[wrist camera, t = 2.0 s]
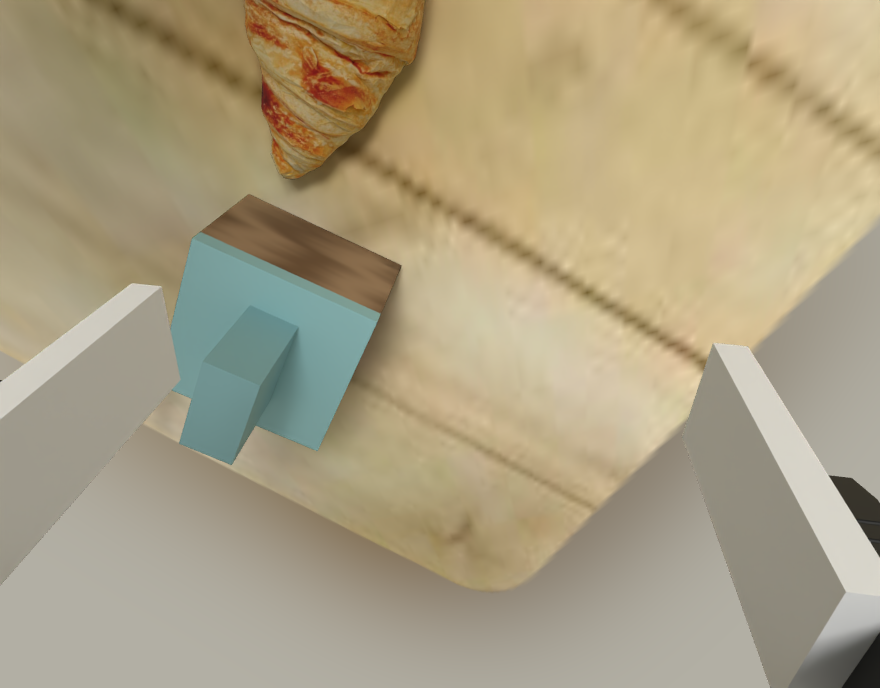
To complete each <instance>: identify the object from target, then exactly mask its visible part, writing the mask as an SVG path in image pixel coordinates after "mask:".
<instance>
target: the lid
mask: <svg viewBox="0 0 880 688" xmlns="http://www.w3.org/2000/svg"><path fill="white" fill-rule="evenodd" d="M380 315H381V314H380V313H378V312H376V311H374V310H371V309H369V308H367V307H365V306H363V305H360V304H358V303H356V302H354V301H352V300H349V299H347V298H345V297H343V296H341V295H338V294H336V293H334V292H332V291H330V290H327V289H325V288H323V287H321V286H319V285H316V284H314V283H312V282H310V281H308V280H305V279H303V278H301V277H299V276H297V275H294V274H292V273H290V272H288V271H286V270H283V269H281V268H279V267H277V266H275V265H272V264H270V263H268V262H266V261H264V260H261V259H259V258H257V257H255V256H253V255H250V254H248V253H246V252H244V251H242V250H239V249H237V248H235V247H233V246H231V245H228V244H226V243H224V242H222V241H220V240H217V239H215V238H213V237H211V236H209V235H206V234H204V233H202V232H200V233H198V234H197V235H196V236H194V237H193V238H192V241H191V245H190V249H189V253H188V257H187V262H186V266H185V270H184V274H183V278H182V282H181V287H180V291H179V295H178V299H177V303H176V307H175V312H174V316H173V320H172V324H171V328H170V330H171V335H172V340H173V345H174V350H175V355H176V360H177V365H178V370H179V375H180V379H181V380H180V381H179V382H178V383H177V384H176V386H175V387H174V388H173V389H172V391H175V392H177V393H179V394H182V395H184V396H187V397H189V398H191V399H192V400H191V404H190V407H189V411H188V414H187V418H186V421H185V425H184V428H183V432H182V435H181V439H180V442H179V444H181V445H184V446H186V447H189V448H191V449H194V450H196V451H198V452H201V453H203V454H206V455H208V456H211V457H213V458H216V459H218V460H220V461H223V462H225V463H228V464H230V465H232V464H233V462H234V460H235V459H236V457H237V455H238V454H239V452H240V450H241V449H242V447H243V445H244V444H245V442H246V440H247V439H248V437H249V435H250V434H251V432H252V430H253V429H254V427H255V425H256V426H258V427H261V428H263V429H266V430H268V431H270V432H273V433H275V434H278V435H280V436H282V437H285V438H287V439H289V440H292V441H294V442H297V443H299V444H301V445H304V446H306V447H309V448H311V449H313V450H316V451H318V449H319V447H320V445H321V442H322V440H323V438H324V436H325V434H326V432H327V430H328V427H329V425H330V423H331V421H332V419H333V417H334V414H335V412H336V410H337V408H338V406H339V404H340V401H341V399H342V397H343V395H344V393H345V391H346V389H347V386H348V384H349V382H350V380H351V378H352V376H353V373H354V371H355V369H356V367H357V365H358V363H359V361H360V358H361V356H362V354H363V352H364V350H365V348H366V345H367V343H368V341H369V339H370V337H371V335H372V332H373V330H374V328H375V326H376V324H377V322H378V319H379V317H380Z"/></svg>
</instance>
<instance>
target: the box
mask: <svg viewBox="0 0 880 688" xmlns="http://www.w3.org/2000/svg"><path fill="white" fill-rule="evenodd" d="M201 232H202V233H204V234H206V235H209V236H211V237H213V238H215V239H217V240H220V241H222V242H224V243H226V244H228V245H231V246H233V247H235V248H237V249H239V250H242V251H244V252H246V253H248V254H250V255H253V256H255V257H257V258H259V259H261V260H264V261H266V262H268V263H270V264H272V265H275V266H277V267H279V268H281V269H283V270H286V271H288V272H290V273H292V274H294V275H297V276H299V277H301V278H303V279H305V280H308V281H310V282H312V283H314V284H316V285H319V286H321V287H323V288H325V289H327V290H330V291H332V292H334V293H336V294H338V295H341V296H343V297H345V298H347V299H349V300H352V301H354V302H356V303H358V304H360V305H363V306H365V307H367V308H369V309H371V310H374V311H376V312H378V313H380V314H381V312H382V310H383V308H384V305H385V303H386V301H387V298H388V296H389V294H390V291H391V289H392V287H393V284H394V282H395V280H396V277H397V275H398V272H399V270H400V268H401V265H399V264H397V263H395V262H393V261H391V260H389V259H387V258H384V257H382V256H380V255H378V254H376V253H374V252H372V251H369V250H367V249H365V248H363V247H361V246H359V245H357V244H354V243H352V242H350V241H348V240H346V239H344V238H342V237H339V236H337V235H335V234H333V233H331V232H329V231H327V230H324V229H322V228H320V227H318V226H316V225H314V224H312V223H309V222H307V221H305V220H303V219H301V218H299V217H297V216H294V215H292V214H290V213H288V212H286V211H284V210H282V209H279V208H277V207H275V206H273V205H271V204H269V203H267V202H264V201H262V200H260V199H258V198H256V197H254V196H252V195H250V194H248V195H247V196H246V197H245V198H243V199H242V200H241V201H239V202H238V203H237V204H236V205H234V206H233V207H232V208H230V209H229V210H228V211H227V212H225V213H224V214H223V215H221V216H220V217H219V218H218V219H216V220H215V221H214V222H212V223H211V224H210V225H209V226H207V227H206V228H205V229H203V230H202V231H201Z"/></svg>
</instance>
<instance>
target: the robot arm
mask: <svg viewBox="0 0 880 688" xmlns="http://www.w3.org/2000/svg"><path fill="white" fill-rule="evenodd" d="M180 380H181V379H180V375H179V370H178V365H177V360H176V355H175V350H174V345H173V340H172V335H171V330H170V325H169V320H168V315H167V310H166V305H165V300H164V296H163V291H162V286H154V285H144V284H134V283H131V284H130V285H129V286H127V287H126V288H125V289H123V290H122V291H121V292H119V293H118V294H117V295H115V296H114V297H113V298H111V299H110V300H109V301H108V302H106V303H105V304H104V305H102V306H101V307H100V308H98V309H97V310H96V311H94V312H93V313H92V314H90V315H89V316H88V317H86V318H85V319H84V320H82V321H81V322H80V323H78V324H77V325H76V326H74V327H73V328H72V329H70V330H69V331H68V332H66V333H65V334H64V335H62V336H61V337H60V338H58V339H57V340H56V341H54V342H53V343H52V344H50V345H49V346H48V347H47V348H45V349H44V350H43V351H41V352H40V353H39V354H37V355H36V356H35V357H33V358H32V359H31V360H29V361H28V362H27V363H25V364H24V365H23V366H21V367H20V368H19V369H17V370H16V371H15V372H13V373H12V374H11V375H9V376H8V377H7V378H5V379H4V380H0V585H1V584H2V583H3V582H4V581H5V580H6V579H7V577H8V576H9V575H10V574H11V573H12V572H13V571H14V569H15V568H16V567H17V566H18V565H19V563H21V561H22V560H23V559H24V558H25V557H26V556H27V555H28V553H29V552H30V551H31V550H32V549H33V548H34V547H35V545H36V544H37V543H38V542H39V541H40V540H41V538H43V536H44V535H45V534H46V533H47V532H48V530H50V528H51V527H52V526H53V525H54V524H55V522H56V521H57V520H58V519H59V518H60V517H61V516H62V514H63V513H64V512H65V511H66V510H67V509H68V508H69V507H70V506H71V504H72V503H73V502H74V501H75V500H76V499H77V498H78V496H79V495H80V494H81V493H82V492H83V491H84V490H85V488H86V487H87V486H88V485H89V484H90V483H91V481H92V480H93V479H94V478H95V477H96V476H97V475H98V474H99V472H100V471H101V470H102V469H103V468H104V467H105V465H106V464H107V463H108V462H109V461H110V460H111V459H112V458H113V456H114V455H115V454H116V453H117V452H118V451H119V450H120V448H121V447H122V446H123V445H124V444H125V443H126V441H127V440H128V439H129V438H130V437H131V436H132V435H133V433H134V432H135V431H136V430H137V429H138V428H139V427H140V425H141V424H142V423H143V422H144V421H145V420H146V419H147V418H148V416H149V415H150V414H151V413H152V412H153V411H154V410H155V408H156V407H157V406H158V405H159V404H160V403H161V402H162V400H163V399H164V398H165V397H166V396H167V395H168V394H169V392H170V391H171V390H172V389H173V388H174V387H175V386H176V384H177V383H178V382H179V381H180ZM682 438H683V441H684V444H685V447H686V450H687V452H688V456H689V458H690V461H691V464H692V467H693V469H694V473H695V475H696V478H697V481H698V484H699V487H700V490H701V492H702V495H703V498H704V501H705V503H706V506H707V509H708V512H709V515H710V518H711V520H712V523H713V526H714V529H715V532H716V535H717V538H718V540H719V543H720V546H721V549H722V552H723V555H724V558H725V560H726V563H727V566H728V569H729V572H730V575H731V578H732V580H733V583H734V586H735V589H736V592H737V594H738V597H739V600H740V603H741V606H742V609H743V611H744V614H745V617H746V620H747V623H748V625H749V629H750V631H751V634H752V637H753V640H754V643H755V645H756V648H757V651H758V654H759V657H760V660H761V662H762V665H763V668H764V671H765V674H766V677H767V680H768V682H769V685H770V688H880V503H879V501H878V500H877V499H876V498H875V497H874V496H872V495H871V494H870V493H869V492H868V491H866V490H865V489H864V488H863V487H862V486H860V485H859V484H858V483H857V482H856V481H855V480H853V479H852V478H846V477H838V476H829V475H828V474H827V472H826V471H825V469H824V468H823V466H822V464H821V463H820V461H819V460H818V458H817V456H816V455H815V453H814V452H813V450H812V449H811V447H810V445H809V444H808V442H807V441H806V439H805V437H804V436H803V434H802V432H801V431H800V429H799V428H798V426H797V424H796V423H795V421H794V420H793V419H792V416H791V415H790V413H789V412H788V410H787V409H786V407H785V405H784V404H783V402H782V401H781V399H780V398H779V396H778V394H777V392H776V391H775V389H774V388H773V386H772V384H771V383H770V381H769V380H768V378H767V376H766V375H765V373H764V372H763V370H762V368H761V367H760V365H759V364H758V362H757V361H756V359H755V357H754V356H753V354H752V352H751V351H750V349H749V348H748V346H739V345H729V344H719V343H713V345H712V348H711V351H710V354H709V357H708V360H707V363H706V366H705V369H704V372H703V375H702V378H701V381H700V384H699V387H698V390H697V393H696V396H695V399H694V402H693V405H692V408H691V411H690V414H689V417H688V420H687V423H686V427H685V430H684V433H683V436H682Z"/></svg>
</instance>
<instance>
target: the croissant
mask: <svg viewBox="0 0 880 688" xmlns="http://www.w3.org/2000/svg"><path fill="white" fill-rule="evenodd" d="M424 4H425V0H244V8H245V10H246V16H245V18H246V19H245V26H246V31H247V36H248V40H249V42H250V45H251V47H252V49H253V50H254V51H255V52H256V54H257V57H258V59H259V62H260V68H261V71H262V105H261V107H262V112H263V115H264V117H265V118H266V120H267V122H268V124H269V127H270V131H271V135H272V136H273V138H272V150H271V156H272V158H273V161H274V163H275V166H276V168H277V170H278V173H280V174H281V175H282V176H283V178H288V179H295V178H299V177H301V176H303V175H305V174H306V173H308V172H309V171H313V170H315V169H316V168H317V167H321V165H322V164H323V163H324V161H325V160H326V159H327V158H328V157H329V156H330V155H331V154H332V153H333V152H334V151H335V150H336V149H337V148H338V147H340V146H341V145H343V144H344V143H345V142H347V140H348V139H349V137H350V136H351V135H353V134H354V133H356V132H359V131H360V130H361V129H363V128H364V126H365V125H366V124H367V122H368V121H369V119H370V118H371V117H372V116H373V115H374V113H375V112H376V110H377V109H378V107H379V104H380V101H381V98H382V97H383V95H384V93H386V92H387V90H388V89H389V87H390V85H391V84H392V82H393V80H394V78H395V77H396V76H397V75H398V74H399V73H400V72H401V70H402V69H403V67H404V66H406V65H410V64H411V63H412V62H413V60H414V59H415V56H416V52H417V47H418V42H419V39H420V31H421V25H422V20H423V10H424Z"/></svg>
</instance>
